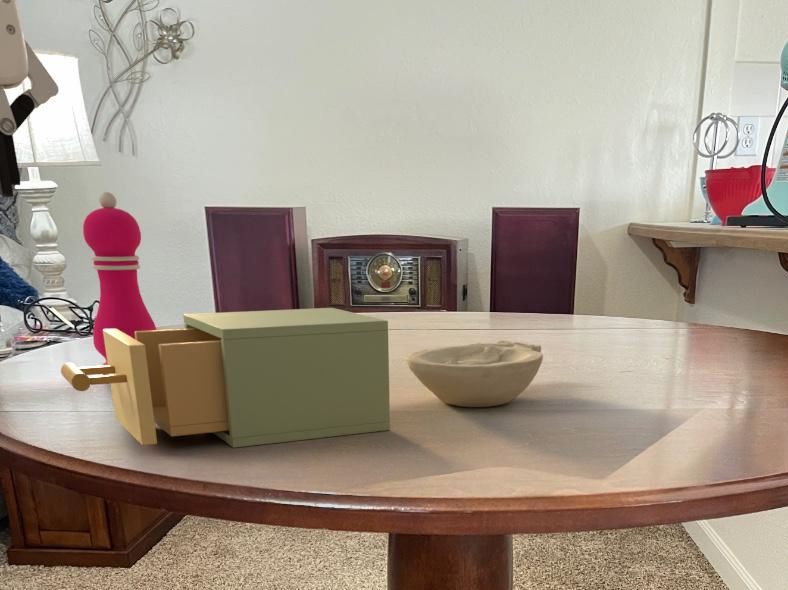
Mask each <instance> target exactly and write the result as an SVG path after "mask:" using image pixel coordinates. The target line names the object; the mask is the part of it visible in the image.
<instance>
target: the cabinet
mask: <svg viewBox="0 0 788 590" xmlns="http://www.w3.org/2000/svg"><path fill="white" fill-rule="evenodd" d="M182 318H183V327H184V329H187V328H197V329H200V330H202V331H204V332H207V333H209V334H212V335H214V336H216V337H219V338H221V346H222V357H223V367H224V378H225V389H226V400H227V411H228V422H229V431H219V432H212V433H213V435H215V436H216V437H218V438H219V439H220V440H222V441H224V442H225V443H226V444H228V445H229V446H231V447H232V448H234V449H235V448H245V447H255V446H261V445H263V446H264V445H270V444H271V445H272V444H278V443H288V442H289V443H290V442H297V441H298V442H299V441H306V440H315V439H323V438H331V437H332V438H333V437H338V436H339V437H341V436H350V435H358V434H367V433H376V432H384V431H390V430H391V422H390V421H391V420H390V419H391V410H390V409H391V408H390V407H391V405H390V403H391V402H390V358H389V357H390V356H389V351H390V350H389V321H388V320H387V319H382V318H377V317H374V316H370V315H365V314H361V313H357V312H353V311H352V312H351V311H347V310H343V309H339V308H335V307H320V308H318V307H315V308H297V309H295V308H294V309H274V310H272V309H271V310H250V311H249V310H248V311H227V312H226V311H225V312H224V311H223V312H207V313H205V312H204V313H203V312H202V313H184V314H183V315H182Z"/></svg>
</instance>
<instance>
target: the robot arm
mask: <svg viewBox="0 0 788 590" xmlns="http://www.w3.org/2000/svg"><path fill="white" fill-rule="evenodd" d="M19 10H20V9H19V6H18V1H17V0H0V196H2V197H3V198H12V197H14V191H13V190H14V189H13V186H21V177H20V171H19V165H18V160H17V159H18V158H17V152H16V148H15V141H14V136H13V135H14V134H15V133H16V132H17V131H18V130H19V128H20V127H21V126H22V124H23V123H24V122H25V121H26V120H27V119H28V118H29V116H31V114H32V113H33V112H34V111H35V110H37V109H38V108H40V107H42V106H43V105H45V104H46V103H47V102H49V101H50V100H51V99H54V97H56V96H57V95H58V94H59V86H58V84H57V83H56V81H55V79H54V78H53V77H52V76H51V74H50V73H49V71H48V70H47V68H46V67H45V66H44V65H43V63H42V62H41V61H40V59H39V58H38V56H37V54H36V53H35V52H34V50H33V49H32V48H31V46H30V44H29V43H28V42H27V40H26V39H25V34H24V30H23V25H22V20H21V15H20V11H19ZM27 78H28V80H29V82H30V87H29V88H28V89H26V90H25V91H23V92H22V93H21V94H20V95H18V96H17V97H16V98H15V99H14V100H13V101H12V103H11V104H10V101H9V98H8V97H7V94H6V93H7V92H6V91H9V90H13V89H15V88H18V87H19V86H20V85H22V83H23V81H25V80H26V79H27Z"/></svg>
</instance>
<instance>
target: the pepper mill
mask: <svg viewBox="0 0 788 590" xmlns="http://www.w3.org/2000/svg"><path fill="white" fill-rule="evenodd" d="M98 200H99V201H98V202H99V204H100V206H101V208H97V209H95V210H92V211H91V212H89V214H88V215H87V216H86V217H85V218H84V220H83V225H82V233H83V238H84V241H85V243H86V244H87V246H88V247H89V248H90V249H91V250H92V252H93V253H94V255H93V256H91V260H92V261H93V265H92V268H93V269H94V270H96V272H97V275H98V276H97V277H98V281H99V294H100V295H99V303H98V308H97V312H96V315H95V320H94V323H93V331H92V340H93V346H94V348H95V350H96V351H97V352H98V353H99V354H100V355H101V356H102V357H103V358H104V359H105V362H103V363H102V364H101V366H108V363H107V356H106V349H105V342H104V335H103V329H118V330H120V331H121V332H123V333H125V334H127V335H128V336H130V337H132V338H134V339H135V331H148V330H158V329H157V326H156V325H155V322H154V319H153V318H152V316H151V314H150V313H149V311H148V309H147V307H146V304H145V303H144V299H143V297H142V295H141V291H140V287H139V282H138V270H139V269H140V268H141V265H140V264H139V263H140V262H139V260H140V257H139V255H136V251H137V249H138V248H139V246H140V244H141V241H142V232H141V230H140V229H141V228H140V225H139V223H138V221H137V220H136V218H135V217H134V216H133V215H131V213H129V212H128V211H125V210H123V209H120V208H118V207H116V206H117V198H116V196H115V194H113V193H111V192H109V191H104V192H102V193H101V194H100V195H99V198H98ZM102 375H109V374H102Z"/></svg>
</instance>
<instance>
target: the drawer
mask: <svg viewBox="0 0 788 590" xmlns="http://www.w3.org/2000/svg"><path fill="white" fill-rule="evenodd" d="M103 335H104V342H105V349H106V356H107V363H108V366H102V365H95V366H81V367H80V366H77V365H76V364H75V363H72V362H65V363H63V364H62V366H61V368H60V373H61V376H62V377H63V378H64V379H65V380H66V381H67V382H68V383H69V384H70V385H71V386H72V388H73V389H75V390H76V391H78V392H86V391H87V390H88V389H90V386H94V385H95V386H96V385H97V386H98V385H108V384H109V385H110V389H111V390H110V391H111V397H112V404H113V411H114V412H113V413H114V418H115V420H117V422H118V423H120V425H121V426H122V427H123V428H124V429H125V430H126V431H127V432H128V433H129V434H131V436H132V437H133V438H134V439H136V441H137V442H138V443H139V444H140V445H141V446H150V445H157V444H158V440H157V431H156V425H157V426H159V427H160V428H161V429H162V430H163V431H164V432H165V433H166V434H168V435H169V436H170V437H180V436H190V435H191V436H192V435H200V434H210V433H213V432H219V431H229V422H228V411H227V400H226V389H225V378H224V367H223V357H222V346H221V338H219V337H216V336H214V335H212V334H209V333H207V332H204V331H202V330H200V329H197V328H187V329H185V328H169V329H168V328H167V329H157V330H148V331H135V339H134V338H132V337H130V336H128V335H127V334H125V333H123V332H121V331H120V330H118V329H103ZM103 374H109V375H103Z"/></svg>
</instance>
